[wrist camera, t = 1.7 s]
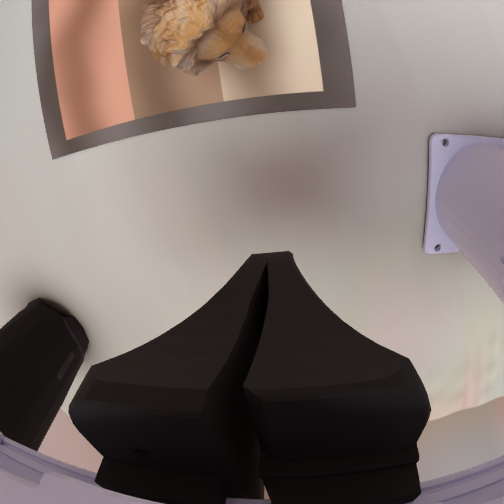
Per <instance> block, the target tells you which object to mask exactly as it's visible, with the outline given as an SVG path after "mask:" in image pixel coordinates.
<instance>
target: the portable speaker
mask: <svg viewBox="0 0 504 504" xmlns="http://www.w3.org/2000/svg"><path fill="white" fill-rule="evenodd" d="M88 343H89V341H88V339H87V337H86V334H85V332H84V330H83V328H82V327H81V325H80V324H79V323H78V322H77V321H76V319H75V318H74V317H64V316H62V315H60V314H58V313H57V312H55V311H53V310H52V309H50V308H48V307H46V306H45V305H44V302H43V301H42V300H41V299H39V298H38V299H36V300H34V301H32V302H30V303H29V304H28V305H27V306H26V308H25V309H23V310H22V311H20V312H19V313H18V314H17V315H15V316H14V317H13V318H12V319H11V320H10V321H9V322H8V323H6V324H5V325H4V326H3V327H2V328H1V329H0V431H1V433H2V434H3V436H5V437H7V438H9V439H11V440H13V441H15V442H17V443H19V444H21V445H23V446H26V447H28V448H30V449H32V450H35V451H38V449H39V447H40V445H41V443H42V441H43V439H44V437H45V435H46V433H47V431H48V430H49V428H50V426H51V424H52V422H53V420H54V418H55V417H56V415H57V413H58V411H59V409H60V407H61V406H62V404H63V402H64V400H65V397H66V395H67V393H68V391H69V389H70V387H71V385H72V383H73V381H74V378H75V376H76V374H77V372H78V370H79V368H80V366H81V364H82V362H83V360H84V356H85V353H86V350H87V347H88Z"/></svg>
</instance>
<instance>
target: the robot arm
mask: <svg viewBox="0 0 504 504" xmlns="http://www.w3.org/2000/svg"><path fill="white" fill-rule="evenodd" d="M443 139H446V144H445V145H444V146H443V145H442V140H443ZM437 244H439V246H438V247H437V248H435V246H436V245H437ZM423 249H424V251H425V252H426V253H427V254H430V255H432V254H442V253H453V252H462V253H463V254H464V256H465V257H466V258H467V259H468V260H469V261H470V262H471V264H472V265H473V266H474V267H475V268H476V270H477V271H478V272H479V273H480V274H481V276H482V277H483V278H484V279H485V280H486V282H487V283H488V284H489V285H490V287H491V288H492V289H493V291H494V292H495V293H496V294H497V296H498V297H499V298H500V300H501V301H502V302H503V304H504V138H498V137H487V136H475V135H460V134H440V133H435V134H433V135H431V137H430V139H429V179H428V199H427V214H426V225H425V235H424V245H423ZM430 412H431V407H430V403H429V398H428V395H427V392H426V389H425V387H424V385H423V383H422V381H421V379H420V377H419V375H418V373H417V371H416V370H415V368H414V366H413V364H412V363H411V361H410V359H409V358H407V357H404V356H402V355H400V354H398V353H396V352H394V351H391V350H389V349H387V348H385V347H383V346H381V345H379V344H377V343H375V342H374V341H372V340H370V339H368V338H367V337H365V336H363V335H362V334H360V333H359V332H357V331H356V330H355V329H353V328H352V327H351V326H349V325H348V324H346V323H345V322H344V321H343V320H341V319H340V318H339V317H338V316H337V315H336V314H335V313H333V312H332V311H331V310H330V309H329V308H328V307H327V306H326V305H325V304H324V303H323V301H322V300H321V299H320V298H319V297H318V296H317V295H316V293H315V292H314V291H313V290H312V288H311V287H310V286H309V284H308V283H307V282H306V280H305V279H304V277H303V276H302V274H301V272H300V271H299V269H298V267H297V265H296V263H295V261H294V258H293V254H292V253H291V252H289V251H285V252H273V253H262V254H252V255H251V256H250V257H249V258H248V259H247V260H246V261H245V263H244V264H243V265H242V266H241V267H240V269H239V270H238V271H237V272H236V273H235V274H234V275H233V277H232V278H231V279H230V280H229V281H228V282H227V283H226V284H225V285H224V286H223V287H222V288H221V289H220V290H219V291H218V292H217V293H216V294H215V295H214V296H213V297H212V298H211V299H210V300H209V301H208V302H207V303H206V304H204V305H203V306H202V307H201V308H200V309H198V310H197V311H196V312H195V313H193V314H192V315H191V316H189V317H188V318H187V319H185V320H184V321H182V322H181V323H179V324H178V325H176V326H175V327H173V328H171V329H170V330H168V331H167V332H165V333H164V334H162V335H160V336H159V337H157V338H155V339H153V340H151V341H149V342H148V343H146V344H144V345H142V346H140V347H137V348H135V349H133V350H131V351H129V352H127V353H124V354H122V355H119V356H117V357H114V358H111V359H109V360H106V361H104V362H101V363H98V364H95V365H92V366H91V368H90V369H89V371H88V373H87V374H86V376H85V378H84V380H83V381H82V383H81V385H80V387H79V389H78V390H77V392H76V394H75V396H74V398H73V399H72V401H71V403H70V405H69V415H70V417H71V420H72V422H73V424H74V425H75V427H76V428H77V429H78V431H79V432H80V433H81V434H82V435H83V436H84V437H85V438H86V439H87V440H88V441H89V442H90V444H92V446H93V447H94V448H95V449H96V450H97V451H98V452H99V453H100V454H101V455H103V457H104V458H103V460H102V462H101V465H100V467H99V470H98V473H94V472H91V471H88V470H85V469H82V468H79V467H76V466H73V465H70V464H67V463H64V462H62V461H59V460H57V459H54V458H52V457H49V456H46V455H44V454H42V453H39V452H37V451H35V450H32V449H30V448H28V447H26V446H23V445H21V444H19V443H17V442H15V441H13V440H11V439H9V438H7V437H5V436H3V434H2V433H1V431H0V504H504V456H501V457H499V458H496V459H494V460H491V461H489V462H486V463H484V464H481V465H478V466H475V467H472V468H469V469H467V470H464V471H460V472H457V473H454V474H451V475H448V476H444V477H440V478H437V479H433V480H430V481H426V482H421V483H420V481H419V475H418V470H417V465H416V463H417V462H418V461H419V453H418V448H417V441H418V439H419V437H420V435H421V433H422V431H423V429H424V428H425V426H426V423H427V421H428V419H429V416H430ZM264 485H265V487H266V490H267V493H268V495H269V498H270V500H265V499H264Z"/></svg>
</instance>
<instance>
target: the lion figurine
mask: <svg viewBox="0 0 504 504" xmlns="http://www.w3.org/2000/svg"><path fill="white" fill-rule="evenodd" d="M141 11H142V12H143V15H142V19H141V23H140V24H141V33H142V37H141V39H140V42H141V43H142V44H143V45H146V46H148V47H149V49H150V51H151V52H152V54H153V55H154V57H155V58H156V59H157V60H159V61H160V63H161V65H162V66H167V65H171V66H172V67H173V68H178V69H180V70H181V71H182V72H183V73H185V74H190V75H192V76H198V74H199V73H201V72H203V71H205V70H206V69H207V68H208V67H209V66H211V65H214V64H215V63H216V61H220V62H227V63H229V64H231V65H233V66H234V67H236V68H238V69H240V70H247V69H250V68H252V67H258V66H260V65H261V64H262V63H264V62H265V61H266V60H267V58H268V50H267V49H266V45H265V43H264V41H263V40H262V39H260V38H259V37H257V36H256V35H254V34H252V33H251V32H249V31H248V29H247V22H248V23H249V24H251V23H257V22H259V21H260V20H261V19H263V18H264V14H263V11H262V9H261V7H260V4H259V2H258V1H257V0H144V2H143V4H142V6H141Z"/></svg>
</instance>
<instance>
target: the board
mask: <svg viewBox="0 0 504 504" xmlns="http://www.w3.org/2000/svg"><path fill="white" fill-rule="evenodd" d="M257 1H258V2H259V4H260V7H261V9H262V11H263V14H264V18H263V19H261V20H260V21H259V22H257V23H251V24H249V23H248V22H247V29H248V31H249V32H251V33H252V34H254V35H256V36H257V37H259V38H260V39H262V40H263V41H264V43H265V45H266V49H267V50H268V58H267V60H266V61H265V62H264V63H262V64H261V65H260V66H258V67H252V68H250V69H247V70H240V69H238V68H236V67H234V66H233V65H231V64H229V63H227V62H220V61H216V63H215V64H214V65H211V66H209V67H208V68H207V69H206V70H205V71H203V72H201V73H199V74H198V76H192V75H190V74H185V73H183V72H182V71H181V70H180V69H178V68H173V67H172V66H171V65H167V66H162V65H161V63H160V61H159V60H157V59H156V58H155V57H154V55H153V54H152V52H151V51H150V49H149V47H148V46H146V45H143V44H142V43H141V42H140V39H141V37H142V33H141V24H140V23H141V19H142V15H143V12H142V11H141V6H142V4H143V2H144V0H32V27H33V42H34V54H35V64H36V72H37V80H38V87H39V94H40V100H41V106H42V112H43V117H44V123H45V128H46V133H47V137H48V142H49V146H50V151H51V155H52V159H56V158H59V157H62V156H65V155H68V154H71V153H75V152H78V151H81V150H84V149H88V148H91V147H95V146H98V145H102V144H106V143H109V142H113V141H117V140H121V139H125V138H129V137H133V136H137V135H141V134H146V133H150V132H155V131H159V130H164V129H169V128H174V127H179V126H184V125H189V124H195V123H200V122H206V121H212V120H219V119H225V118H232V117H239V116H247V115H255V114H264V113H273V112H283V111H295V110H308V109H324V108H348V107H356V103H355V93H354V83H353V74H352V66H351V58H350V51H349V43H348V37H347V30H346V24H345V18H344V12H343V7H342V1H341V0H257Z"/></svg>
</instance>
